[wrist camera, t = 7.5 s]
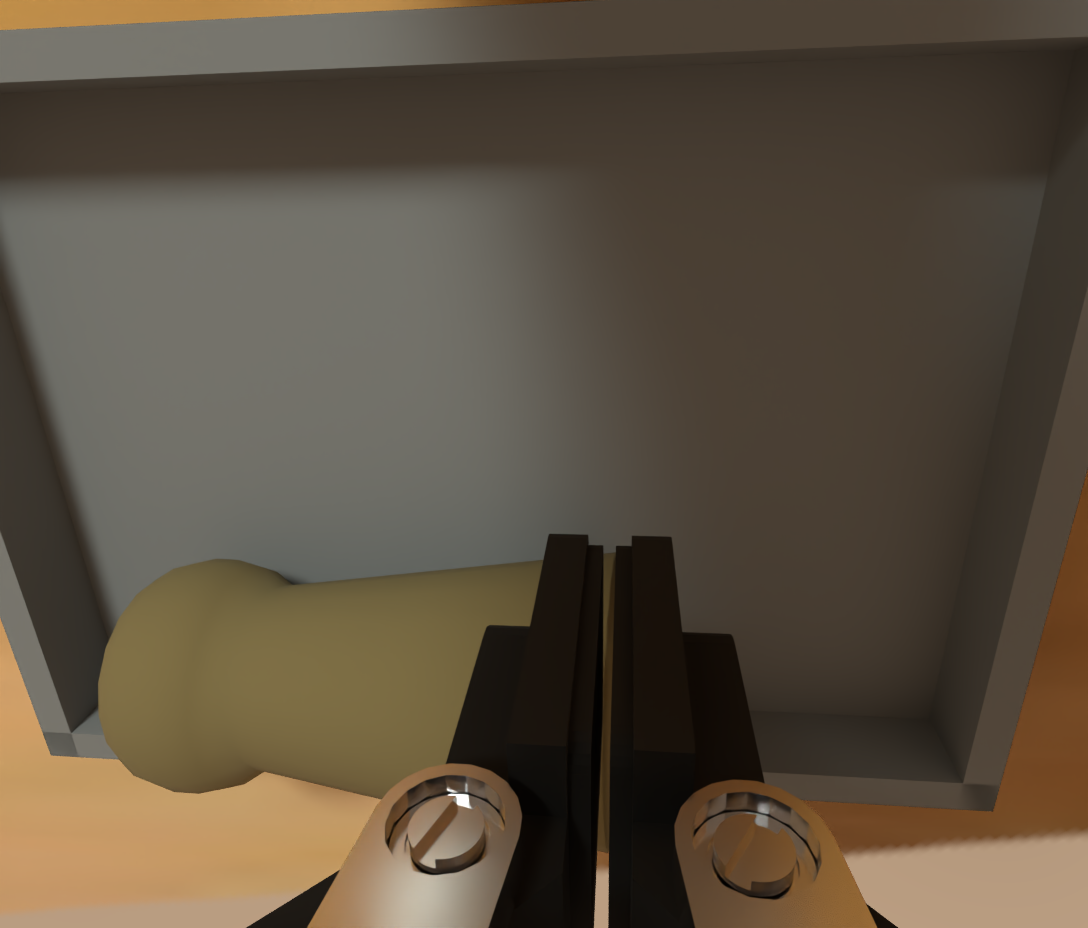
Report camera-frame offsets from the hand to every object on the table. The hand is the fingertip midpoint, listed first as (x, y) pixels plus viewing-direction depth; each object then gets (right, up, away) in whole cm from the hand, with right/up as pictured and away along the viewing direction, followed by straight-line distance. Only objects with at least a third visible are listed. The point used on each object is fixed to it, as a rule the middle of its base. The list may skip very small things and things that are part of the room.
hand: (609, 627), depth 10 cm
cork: (+1, -3, +6) cm, 6 cm away
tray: (-2, +3, +7) cm, 8 cm away
